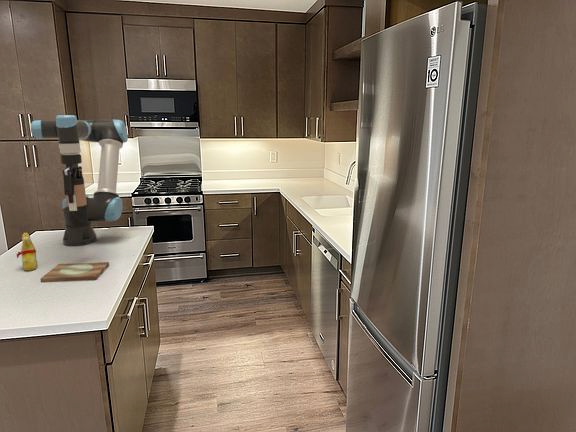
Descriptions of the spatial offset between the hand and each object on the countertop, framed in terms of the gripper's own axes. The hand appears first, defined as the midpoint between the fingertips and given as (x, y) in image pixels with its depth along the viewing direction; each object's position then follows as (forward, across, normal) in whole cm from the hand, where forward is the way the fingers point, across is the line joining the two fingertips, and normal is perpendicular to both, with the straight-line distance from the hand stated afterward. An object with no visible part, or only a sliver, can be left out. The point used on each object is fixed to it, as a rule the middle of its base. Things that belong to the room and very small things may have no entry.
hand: (77, 208), depth 172 cm
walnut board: (+23, +15, +3) cm, 28 cm away
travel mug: (+7, 0, 0) cm, 7 cm away
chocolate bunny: (+24, +6, -20) cm, 31 cm away
